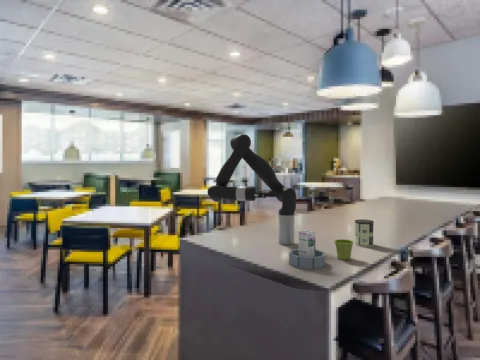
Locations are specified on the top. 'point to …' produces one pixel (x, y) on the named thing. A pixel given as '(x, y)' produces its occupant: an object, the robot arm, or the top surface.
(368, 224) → the coffee can
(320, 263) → the bowl
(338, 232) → the top surface
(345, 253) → the plant pot
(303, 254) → the syrup box
